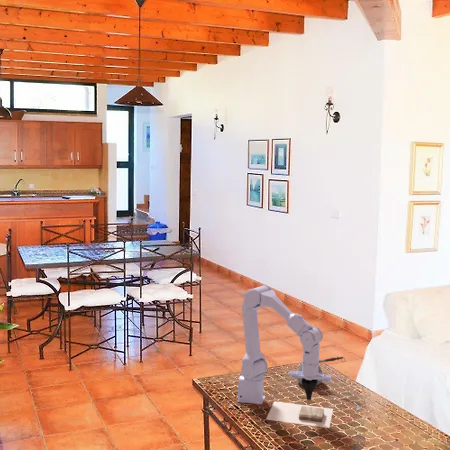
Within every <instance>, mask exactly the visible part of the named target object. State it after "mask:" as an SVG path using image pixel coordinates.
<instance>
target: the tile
mask: <svg viewBox="0 0 450 450" xmlns="http://www.w3.org/2000/svg"><path fill="white" fill-rule="evenodd" d="M323 415H324V409H322V408H314V407H306V406H302V407H301V410H300V413H299V419H300V420H307V421H315V422H322V419H323Z"/></svg>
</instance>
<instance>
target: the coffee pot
mask: <svg viewBox="0 0 450 450" xmlns="http://www.w3.org/2000/svg"><path fill="white" fill-rule="evenodd" d="M339 360H340V361H341V362H342V363H344V362H345V361H346V359H345V358H344V356H337V357H330V358H327V359H326V358H325V359H321V360H320V359H319V364H321V363H327V362H335V361H339ZM343 360H344V361H343ZM297 371H302V362H301V363H300V365H299V367H298V369H297ZM318 373H321V374H323V372H322V369H321V366H320V365H319V367H318ZM295 379H296V381H298V383H299V384H300V385H301V386H303V385H302V379H300V378H295ZM322 383H323V381H317V384H316V386H315V387H318V386H319V385H320V384H322Z"/></svg>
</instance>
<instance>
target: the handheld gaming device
mask: <svg viewBox="0 0 450 450" xmlns="http://www.w3.org/2000/svg"><path fill="white" fill-rule="evenodd" d="M328 397H331V398H339V397H338V396H336V395H333V394H330V395H328ZM362 409H363V407H362V406H360V405H359V404H355V412H357V411H359V410H362Z"/></svg>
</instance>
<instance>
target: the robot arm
mask: <svg viewBox="0 0 450 450" xmlns="http://www.w3.org/2000/svg"><path fill="white" fill-rule="evenodd" d="M260 307H267V308H271V310H273V311H274V312H276V313H277V314H278V315H280V317H282V318H283V319H284V320H286V326H287V327H288V328H289V329H290V330H292V332H293V333H294V334H295V335H297V336H298V337H299V340H300V343H301V345H302V359H301V360H302V361H301V363H302V371H298V370H296V371H295V370H290V371H289V373H288V377H289V379H292V378H293V379H296V378H300V379H302V385H301V386H302V387H303V389H304V391H305V395H306V401H311V400H312V396H313V392H314V390H315V388H316V387H317V386H316V384H317V381H322V382H326V383H329V384H330V383H331V381H332V376H331V374H330V375H329V374H324V373H322V374H321V373H318V367H319V366H320V363H319V361H320V343H321V342H322V341H323V332H322V331H321V329H320V327H317V326H313V325H312V324H311V323H308V322H307V320H305V319H304V318H303V316H304V315H302V314H299V313H294V312H292V311H291V309H290V308H288V307H287V306H286V305H285V303H284V302H282V300H281V299H280V298H279V297H278V296H277V294H276V292H275V290H273V289H272V288H271V287H270V286H268V285H267V284H263V285H261V286H257V287H254V288H250V289H248V290H246V292H245V293H244V294H243V302H242V306H241V314H242V324H243V333H244V347H245V354H244V356H243V357H242V359H241V361H242V362H241V363H242V364H241V366H240V367H241V368H240V373H241V375H239V378H238V382H237V383H238V384H237V400H236V402H238V403H244V404H246V403H249V404H257V405H263V402H264V401H265V399H266V397H267V396H266V395H264V380H265V379H264V377H265V373H266V372H267V371H268V362H267V360H266V358H265V357H266V356H265V354H264V353H263V352H261V343H260V341H261V340H260V332H259V323H258V322H259V320H258V319H259V318H258V310H259V309H260Z"/></svg>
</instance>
